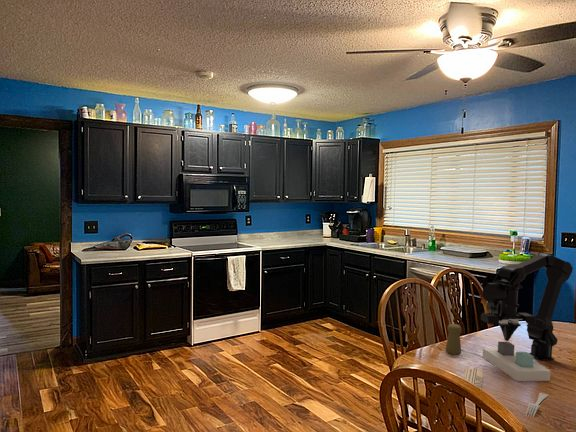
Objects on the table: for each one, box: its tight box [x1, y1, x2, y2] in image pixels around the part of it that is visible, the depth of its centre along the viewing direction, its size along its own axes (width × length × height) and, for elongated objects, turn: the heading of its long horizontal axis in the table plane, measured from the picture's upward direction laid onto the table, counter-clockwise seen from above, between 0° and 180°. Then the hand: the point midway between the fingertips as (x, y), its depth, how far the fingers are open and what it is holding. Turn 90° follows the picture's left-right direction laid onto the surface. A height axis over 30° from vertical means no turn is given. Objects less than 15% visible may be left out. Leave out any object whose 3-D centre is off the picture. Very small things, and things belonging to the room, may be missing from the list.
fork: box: [525, 392, 549, 418], centre depth 134 cm, size 3×21×3 cm, turn 139°
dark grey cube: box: [497, 341, 515, 356], centre depth 167 cm, size 4×4×4 cm
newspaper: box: [462, 366, 484, 389], centre depth 148 cm, size 24×7×2 cm, turn 154°
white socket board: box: [482, 347, 551, 382], centre depth 162 cm, size 12×22×4 cm, turn 6°
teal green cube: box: [515, 351, 535, 367], centre depth 156 cm, size 4×4×4 cm
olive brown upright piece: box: [445, 323, 462, 355], centre depth 177 cm, size 6×6×11 cm
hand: (506, 340), depth 167 cm, fingers closed
